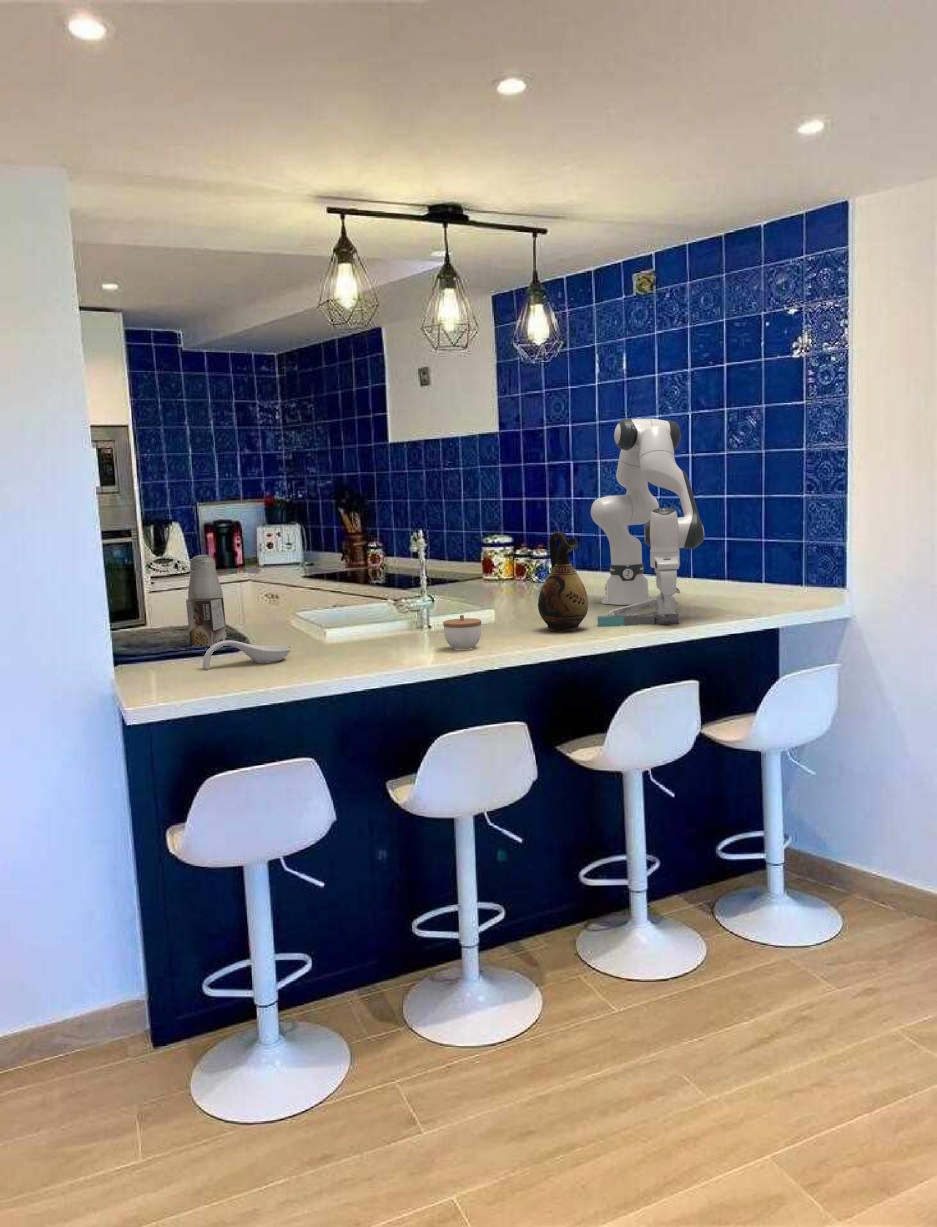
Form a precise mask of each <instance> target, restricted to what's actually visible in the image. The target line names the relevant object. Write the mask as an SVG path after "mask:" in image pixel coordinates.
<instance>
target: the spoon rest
mask: <svg viewBox="0 0 937 1227" xmlns="http://www.w3.org/2000/svg"><path fill="white" fill-rule="evenodd" d="M223 646H228V647H234V648H237V649H239V650H240V651H241V652H242V653H243V654H245V655H246V656H248V657H249V659H251V660H253V661H254V662H255V663H256V662H258V663H257V664H270V663H269V662H273V663H277V661H278V662H280V661H282V660H283V659H285V658H286V657H287V656H288V655H289V653H290V652H291V648H290V647H287V646H279V645H261V644H260V645H256V644H249V643H245V642H242V641H236V640H232V639H231V640H228V639H227V640H226V641H220V642H218V643H216V644H214V645H212V646H211V647H210V648H209V649H208V650H207V651H206V653H205V654H203V655H204V656H203V659H202V668H203V669H204V670H206V671H207V670H209V669H210V667H211V658H212V654H213V652H214V651H216V650H217V649H219V648H221V647H223Z"/></svg>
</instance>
